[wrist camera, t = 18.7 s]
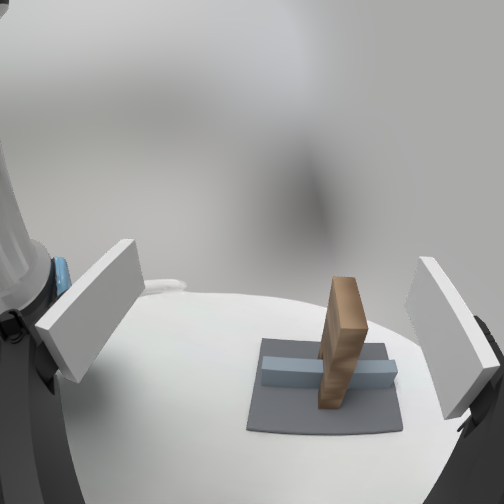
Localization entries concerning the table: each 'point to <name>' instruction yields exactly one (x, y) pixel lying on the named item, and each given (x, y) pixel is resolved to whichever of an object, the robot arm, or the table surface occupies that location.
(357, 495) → the table surface
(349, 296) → the brown notched block
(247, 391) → the table surface
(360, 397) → the grey plate with ridge
